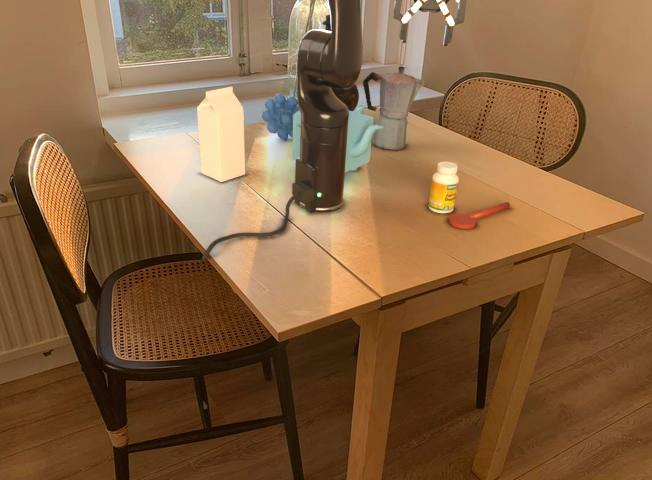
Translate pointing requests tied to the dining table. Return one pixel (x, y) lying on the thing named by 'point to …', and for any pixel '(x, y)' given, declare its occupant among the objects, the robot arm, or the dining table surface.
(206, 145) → the milk carton
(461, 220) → the red spoon
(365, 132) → the teakettle
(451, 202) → the supplement bottle
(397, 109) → the moka pot
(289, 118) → the grapes
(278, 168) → the dining table surface
